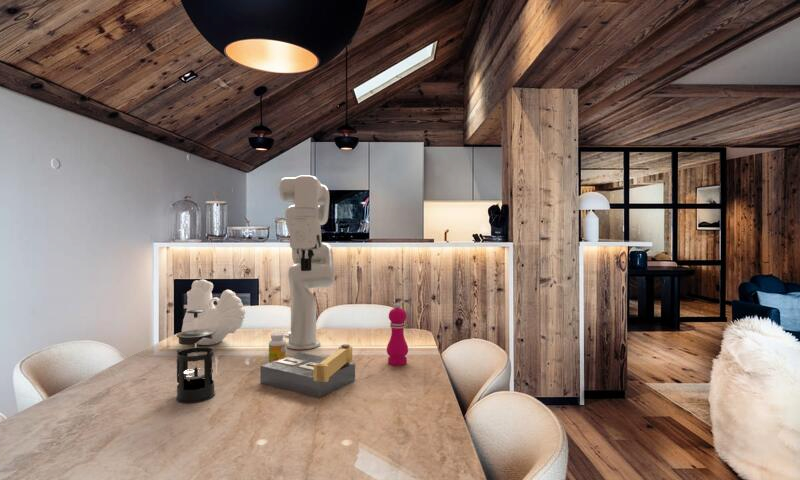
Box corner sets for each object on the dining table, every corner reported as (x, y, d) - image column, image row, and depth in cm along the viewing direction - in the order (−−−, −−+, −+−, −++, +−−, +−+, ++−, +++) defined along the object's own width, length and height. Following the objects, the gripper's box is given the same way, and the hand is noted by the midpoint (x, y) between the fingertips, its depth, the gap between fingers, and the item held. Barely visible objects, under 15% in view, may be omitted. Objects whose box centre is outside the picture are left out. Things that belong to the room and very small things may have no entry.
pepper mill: (408, 360, 148) (409, 301, 148) (407, 366, 141) (407, 305, 141) (388, 359, 149) (388, 301, 148) (385, 365, 142) (385, 305, 141)
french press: (224, 393, 117) (224, 308, 116) (194, 406, 108) (194, 314, 108) (194, 386, 122) (194, 305, 121) (163, 398, 113) (163, 310, 113)
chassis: (260, 382, 125) (260, 364, 125) (299, 368, 139) (299, 351, 139) (318, 398, 114) (318, 377, 114) (355, 380, 128) (355, 362, 128)
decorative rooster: (172, 345, 166) (171, 280, 165) (206, 336, 180) (206, 276, 179) (220, 353, 155) (219, 284, 154) (252, 343, 169) (252, 280, 169)
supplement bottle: (265, 364, 143) (265, 335, 142) (275, 360, 148) (275, 331, 147) (278, 366, 141) (278, 336, 140) (288, 361, 146) (288, 333, 145)
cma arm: (341, 360, 129) (341, 343, 129) (354, 361, 129) (354, 344, 128) (313, 383, 110) (313, 363, 110) (327, 384, 109) (327, 364, 109)
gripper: (281, 214, 141) (281, 270, 142) (315, 213, 134) (315, 272, 134) (297, 215, 148) (297, 268, 148) (331, 214, 140) (331, 271, 140)
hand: (306, 270), depth 141 cm, fingers closed
